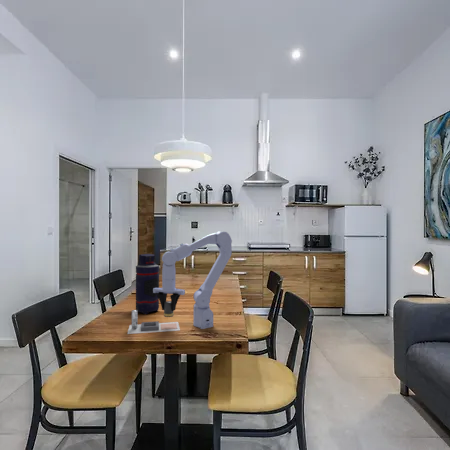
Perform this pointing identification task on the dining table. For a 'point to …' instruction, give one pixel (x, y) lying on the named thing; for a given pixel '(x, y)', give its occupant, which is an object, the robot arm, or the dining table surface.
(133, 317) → the retention clip
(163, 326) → the pad
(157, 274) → the red-striped navy canister
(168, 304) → the plug
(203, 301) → the robot arm
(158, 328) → the dock board
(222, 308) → the dining table surface
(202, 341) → the dining table surface
